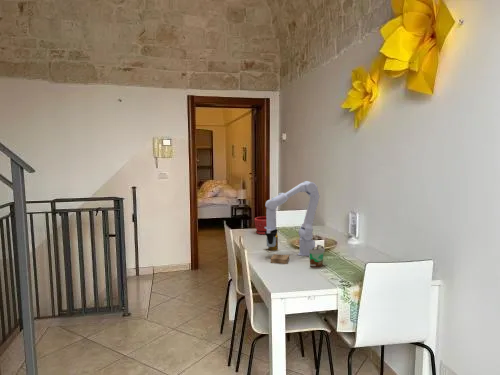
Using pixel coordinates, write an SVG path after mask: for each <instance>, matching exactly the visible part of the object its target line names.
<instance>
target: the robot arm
mask: <svg viewBox="0 0 500 375" xmlns="http://www.w3.org/2000/svg"><path fill="white" fill-rule="evenodd" d="M298 193H306V194H307V195H308V197H309V201H308V205H307V209H306V211H305V216H304V220H303V223H302V224H301V226H300V228H299V229H298V232H297V234H298V236H299V242H298V243H299V251H298V254H297V256H299V257H300V256H303V257H310V253H309V249H311V250H312V249H313V248H315V247H316V240H314V239H313V237H314V234H313V231H314V228H313V224H314V219H315V216H316V211H317V208H318V204H319V200H320V193H319V187H318V185H317V184H316V183H315V182H314V181H309V180H305V181H303V182H300V183H299V184H297V185H296V186H294V187H293V188H291V189H290V190H288V191H286V192H279V193H278V194H277V195H275V196H274V197H271V199H268V200H266V201H265V205H264V206H265V208H266V209H265V210H266V212H265V214H266V216H265V217H266V224H267V227H265V229H267V232H265V236H266V240H267V239H268V243H269V244H272V243H273V237H275V236H276V233H277V234H278V229H277V208H278V207H280V206H281V205H283V204H285V203H286V202H287V201H288V199H289V198H291V197H293V196H295V195H297V194H298Z"/></svg>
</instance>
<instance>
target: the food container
mask: <svg viewBox="0 0 500 375" xmlns="http://www.w3.org/2000/svg"><path fill="white" fill-rule="evenodd" d="M325 249H326V248H325V246H324V245H321V244H316V246H315V248H313V249H312V250H311V249H309V253H310V256H309V267H310V268H321V267H323V263H324V254H325V252H326V250H325Z"/></svg>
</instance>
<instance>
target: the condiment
mask: <svg viewBox="0 0 500 375" xmlns="http://www.w3.org/2000/svg"><path fill="white" fill-rule="evenodd" d="M275 237H276V245H275V246H274V247H268V246H267V247H268V248H263V251H266V252H269V253H271V252H277V251H281V249H279V242H278V241H279V239H278V237H279V236H278V232H277V233H276V236H275Z"/></svg>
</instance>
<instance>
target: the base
mask: <svg viewBox="0 0 500 375" xmlns="http://www.w3.org/2000/svg"><path fill="white" fill-rule="evenodd" d="M289 261H290V255H289V254H281V253H280V254H278V253H274V254H273V255H272V256H271V257H270V264H280V265H287V264H288V262H289Z"/></svg>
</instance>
